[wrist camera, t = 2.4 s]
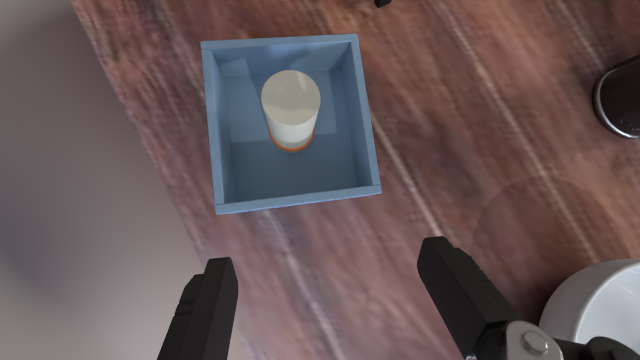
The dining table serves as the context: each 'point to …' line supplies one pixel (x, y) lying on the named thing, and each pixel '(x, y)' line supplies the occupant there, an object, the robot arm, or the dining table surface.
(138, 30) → the dining table surface
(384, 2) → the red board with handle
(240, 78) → the tote
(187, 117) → the dining table surface
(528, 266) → the dining table surface
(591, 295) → the serving bowl
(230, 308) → the robot arm
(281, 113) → the white cylinder orange band
